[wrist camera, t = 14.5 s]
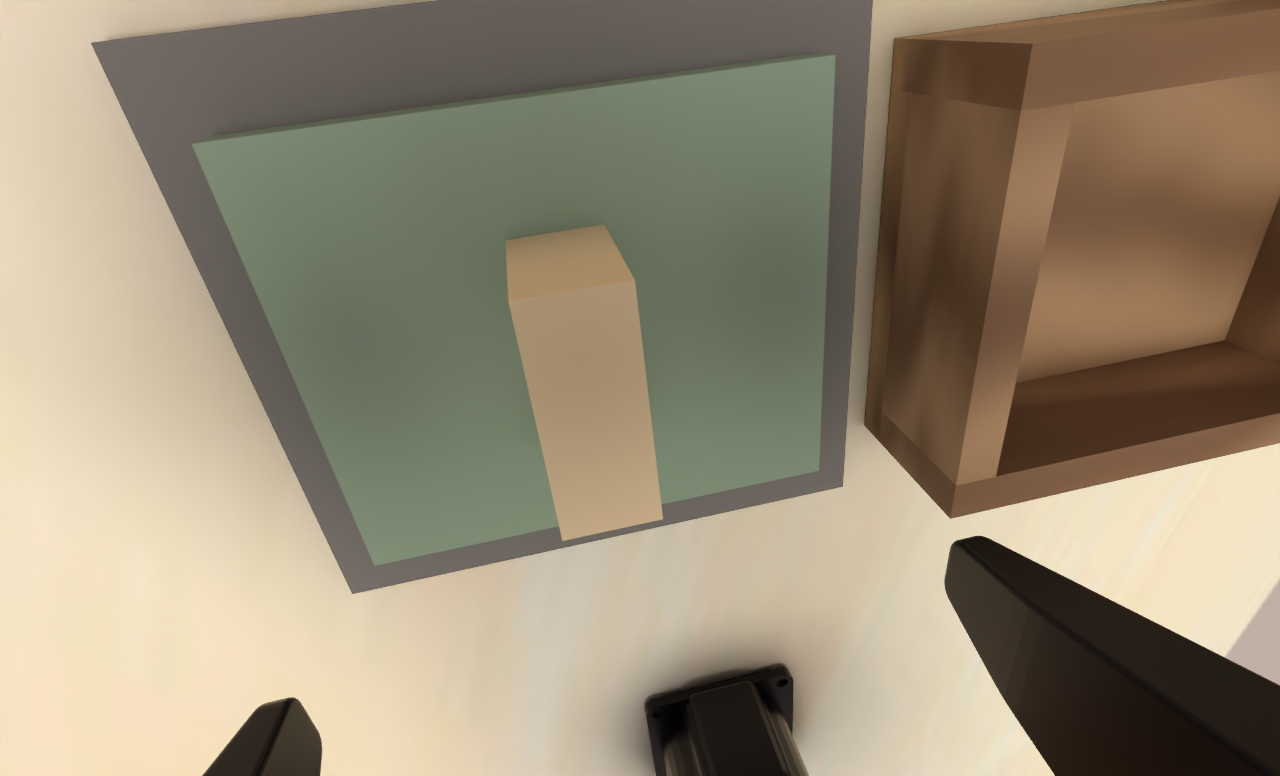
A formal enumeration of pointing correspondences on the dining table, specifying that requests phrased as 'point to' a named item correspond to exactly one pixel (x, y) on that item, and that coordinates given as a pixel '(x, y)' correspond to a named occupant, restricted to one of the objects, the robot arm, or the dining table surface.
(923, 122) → the toolbox
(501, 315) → the lid
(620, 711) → the dining table surface
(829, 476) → the mat
